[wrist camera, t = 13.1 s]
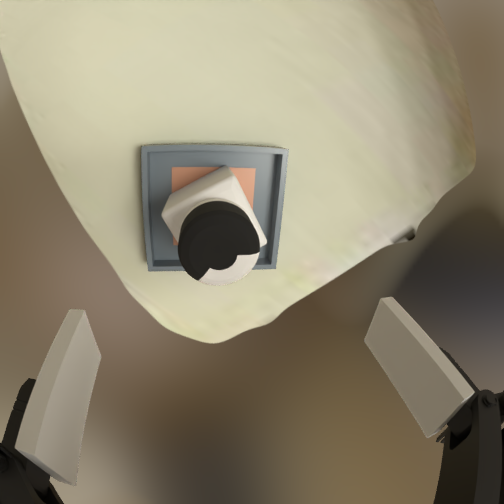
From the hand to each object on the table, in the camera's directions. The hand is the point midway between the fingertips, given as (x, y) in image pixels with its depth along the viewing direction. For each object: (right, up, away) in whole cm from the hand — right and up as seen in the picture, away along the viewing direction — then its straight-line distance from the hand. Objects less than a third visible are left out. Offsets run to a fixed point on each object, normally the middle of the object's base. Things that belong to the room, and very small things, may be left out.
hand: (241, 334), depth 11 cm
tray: (-4, +9, +20) cm, 22 cm away
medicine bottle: (-4, +8, +19) cm, 21 cm away
